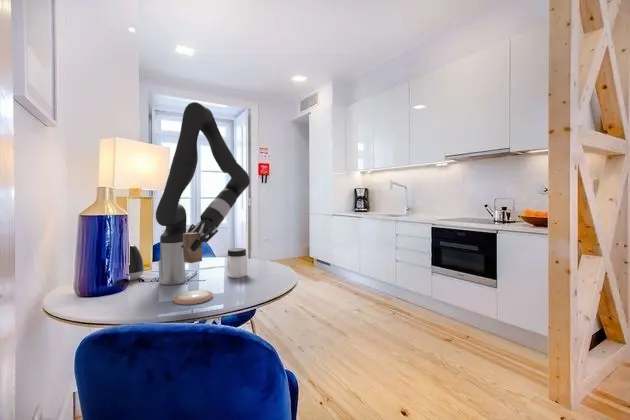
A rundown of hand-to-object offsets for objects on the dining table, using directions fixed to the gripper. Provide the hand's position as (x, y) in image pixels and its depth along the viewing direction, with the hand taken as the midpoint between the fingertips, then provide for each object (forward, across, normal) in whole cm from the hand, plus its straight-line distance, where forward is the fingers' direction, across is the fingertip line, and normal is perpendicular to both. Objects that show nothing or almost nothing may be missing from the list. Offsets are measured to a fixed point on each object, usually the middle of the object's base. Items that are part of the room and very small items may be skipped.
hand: (187, 249), depth 111 cm
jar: (-10, -12, +36) cm, 39 cm away
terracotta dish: (+11, 0, +14) cm, 18 cm away
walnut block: (+2, 0, +5) cm, 5 cm away
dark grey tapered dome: (+11, -46, +14) cm, 50 cm away
